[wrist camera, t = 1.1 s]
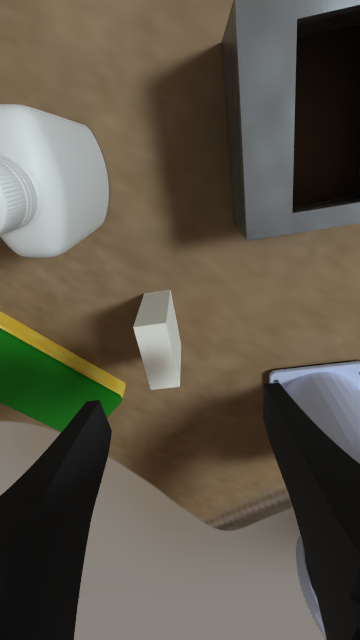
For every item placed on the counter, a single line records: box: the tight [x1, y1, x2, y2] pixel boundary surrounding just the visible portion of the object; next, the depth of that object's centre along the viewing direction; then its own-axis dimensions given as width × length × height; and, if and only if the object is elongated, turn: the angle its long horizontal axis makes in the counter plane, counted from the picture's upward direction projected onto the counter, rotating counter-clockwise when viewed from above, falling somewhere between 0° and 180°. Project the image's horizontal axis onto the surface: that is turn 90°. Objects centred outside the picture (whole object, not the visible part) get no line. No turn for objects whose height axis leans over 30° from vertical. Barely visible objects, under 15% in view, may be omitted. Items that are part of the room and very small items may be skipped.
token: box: [133, 290, 181, 390], centre depth 20 cm, size 5×2×5 cm, turn 9°
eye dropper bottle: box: [0, 104, 109, 258], centre depth 12 cm, size 4×6×12 cm
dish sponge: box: [0, 311, 126, 432], centre depth 25 cm, size 7×14×2 cm, turn 52°
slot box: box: [222, 0, 360, 241], centre depth 14 cm, size 9×8×5 cm
